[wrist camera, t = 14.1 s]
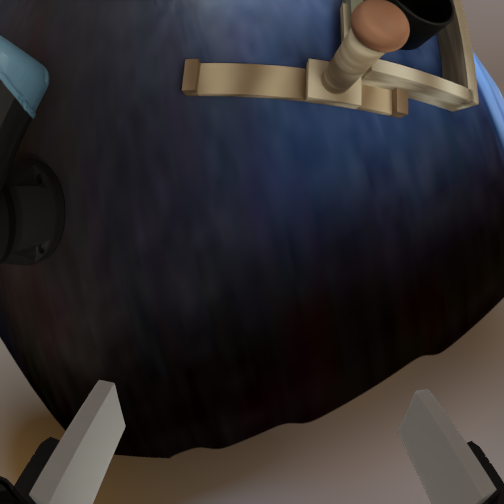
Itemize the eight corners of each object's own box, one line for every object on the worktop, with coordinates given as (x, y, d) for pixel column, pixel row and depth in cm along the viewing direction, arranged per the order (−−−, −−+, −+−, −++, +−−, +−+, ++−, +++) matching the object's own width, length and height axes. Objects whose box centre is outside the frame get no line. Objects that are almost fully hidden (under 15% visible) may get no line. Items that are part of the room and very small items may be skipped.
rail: (186, 96, 32) (181, 90, 30) (190, 66, 32) (185, 59, 29) (399, 118, 32) (408, 114, 30) (399, 89, 31) (407, 84, 29)
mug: (333, 10, 29) (350, -26, 20) (396, -9, 28) (420, -39, 19) (376, 65, 31) (405, 38, 22) (435, 41, 29) (467, 18, 20)
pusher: (303, 103, 32) (347, 30, 14) (306, -4, 29) (332, -102, 10) (355, 111, 32) (438, 56, 14) (353, 4, 29) (403, -82, 10)
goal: (355, 85, 32) (371, 70, 26) (350, -23, 28) (361, -46, 22) (453, 111, 32) (478, 104, 26) (439, 5, 27) (458, -10, 22)
